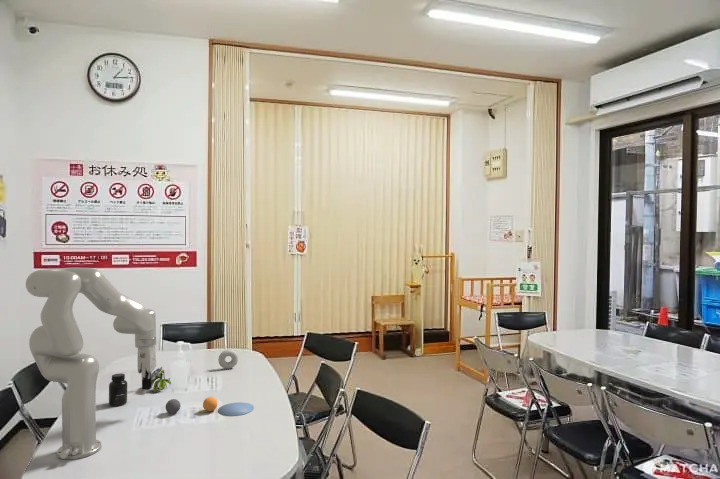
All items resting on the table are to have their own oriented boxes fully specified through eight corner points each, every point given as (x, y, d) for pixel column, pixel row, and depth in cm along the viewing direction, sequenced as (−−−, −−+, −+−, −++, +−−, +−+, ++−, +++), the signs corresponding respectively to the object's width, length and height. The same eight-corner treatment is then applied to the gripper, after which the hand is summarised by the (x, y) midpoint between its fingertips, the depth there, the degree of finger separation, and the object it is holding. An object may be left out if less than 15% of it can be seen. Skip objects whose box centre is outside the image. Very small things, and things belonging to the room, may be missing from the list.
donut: (218, 370, 247) (218, 351, 247) (218, 368, 250) (217, 349, 250) (238, 368, 251) (238, 349, 251) (237, 366, 254) (237, 347, 254)
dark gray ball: (179, 415, 188) (179, 401, 188) (164, 416, 187) (164, 402, 187) (181, 410, 194) (181, 396, 193) (166, 411, 193) (166, 397, 192)
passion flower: (148, 401, 219) (144, 375, 224) (174, 393, 223) (169, 368, 228) (145, 394, 210) (141, 367, 215) (172, 386, 214) (167, 360, 219)
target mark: (253, 414, 190) (253, 414, 190) (216, 417, 187) (216, 416, 187) (254, 401, 203) (254, 401, 203) (219, 404, 201) (219, 403, 201)
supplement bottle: (119, 407, 196) (119, 378, 196) (105, 406, 198) (104, 376, 197) (131, 401, 203) (130, 373, 203) (116, 400, 204) (116, 371, 204)
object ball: (216, 413, 191) (216, 399, 191) (202, 414, 190) (202, 400, 190) (218, 407, 196) (218, 394, 196) (203, 408, 195) (203, 395, 195)
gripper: (151, 346, 181) (152, 394, 182) (160, 336, 196) (161, 381, 197) (130, 347, 180) (131, 396, 181) (140, 337, 194) (141, 382, 195)
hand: (146, 388), depth 189 cm, fingers closed
